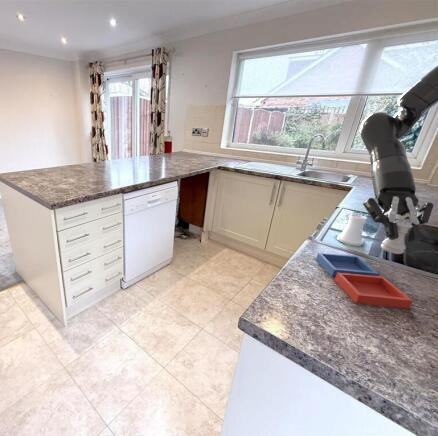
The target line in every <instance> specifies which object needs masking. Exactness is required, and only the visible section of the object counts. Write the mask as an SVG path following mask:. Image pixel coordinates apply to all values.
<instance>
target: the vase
mask: <svg viewBox="0 0 438 436" xmlns="http://www.w3.org/2000/svg"><path fill="white" fill-rule="evenodd" d="M367 220H368V217H366V216H365V215H362V214H357V213H350V214H349V218H348V221H347V224H346V226H345V228H344V229H343V230H342V231H341V232H340V234H338V235H337V237H336V239H337V240H338V241H339V242H341V243H342V244H346V245H349V246H356V247H361V246H363V243H364V240H363V236H362V235H363V228H364V225H365V223H366V221H367Z"/></svg>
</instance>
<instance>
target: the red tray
mask: <svg viewBox="0 0 438 436" xmlns="http://www.w3.org/2000/svg"><path fill="white" fill-rule="evenodd" d="M334 281H335V282H336V283H337V284H338V285H339V286H340V287H341V289H343V291H344V292H345V293H346V294H347V295H348V296H349V297H350V299H352V301H354V303H356V304H362V305H363V304H364V305H372V306H381V307H392V308H401V309H410V307H411V305H412V304H413V302H414V300H413V299H412V298H411V297H409V296H408V295H407V294H406V293H404V292H403V291H402V290H401V289H400V288H399V287H397V286H395V284H393V283H392V282H391V281H390V280H388V279H387V278H386V277H385V276H380V275H379V276H369V275H359V274H348V273H337V275H336V277H334Z"/></svg>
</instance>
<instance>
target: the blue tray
mask: <svg viewBox="0 0 438 436" xmlns="http://www.w3.org/2000/svg"><path fill="white" fill-rule="evenodd" d="M315 260H316V261H317V262H318V263H319V264H320V266H321V267H323V269H325V271H326V272H327V273H328V274H329V275H330V276H331V277H332V278H335V277H336V275H337V273H348V274H359V275H369V276H380V272H378V271H377V270H376V269H375V268H373V267H372V266H371V265H370V264H369V263H368V262H366V261H365V260H364V259H362V258H361V257H360V256H359V255H351V254H339V253H328V252H327V253H325V252H317V254H316V257H315Z"/></svg>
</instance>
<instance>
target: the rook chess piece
mask: <svg viewBox="0 0 438 436" xmlns="http://www.w3.org/2000/svg"><path fill="white" fill-rule="evenodd" d="M407 221H408V220H405V221H403V219H400V218H397V219H396V220H395V222H394V223H396V225H397V230H398V235H399V237H398V238H397V239H394V240H389V239H388V237H387V238H386V239H384V240H382V241H381V244H380V248H381V249H382V250H383V251H385V252H387V253H391V254H395V255H400V254H401V255H402V254H404V253H405V250H406V248H407V247H406V242H405V240H406V237H407V235H406V234H407V233H408V229H409V228H411V227H413V226H412V225H411V224H412V222H411V221H409V222H407Z"/></svg>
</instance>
